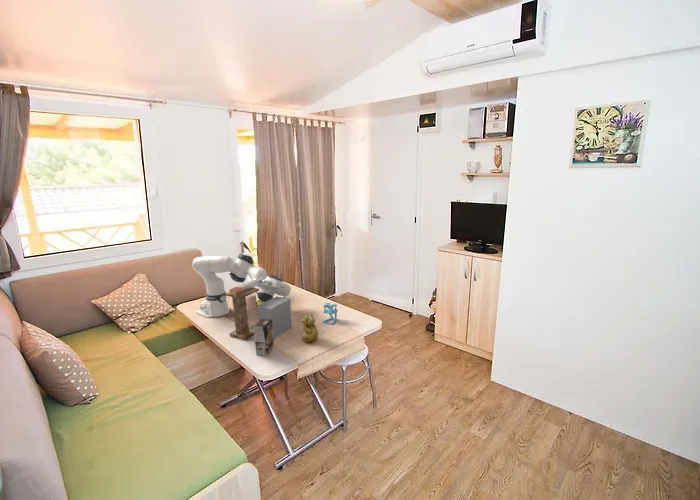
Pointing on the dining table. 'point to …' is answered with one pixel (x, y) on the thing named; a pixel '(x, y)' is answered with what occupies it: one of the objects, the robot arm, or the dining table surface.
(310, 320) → the decorative figurine
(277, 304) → the block
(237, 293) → the light slender bar
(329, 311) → the blue strut sculpture
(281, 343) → the dining table surface
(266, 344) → the coffee box
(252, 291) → the walnut shelf
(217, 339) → the dining table surface
